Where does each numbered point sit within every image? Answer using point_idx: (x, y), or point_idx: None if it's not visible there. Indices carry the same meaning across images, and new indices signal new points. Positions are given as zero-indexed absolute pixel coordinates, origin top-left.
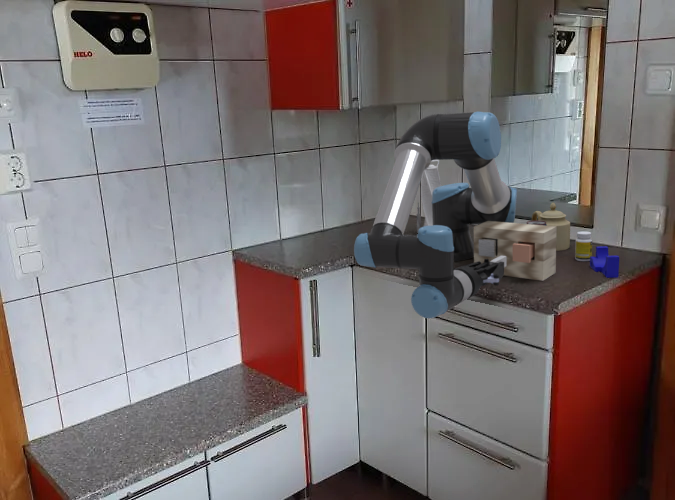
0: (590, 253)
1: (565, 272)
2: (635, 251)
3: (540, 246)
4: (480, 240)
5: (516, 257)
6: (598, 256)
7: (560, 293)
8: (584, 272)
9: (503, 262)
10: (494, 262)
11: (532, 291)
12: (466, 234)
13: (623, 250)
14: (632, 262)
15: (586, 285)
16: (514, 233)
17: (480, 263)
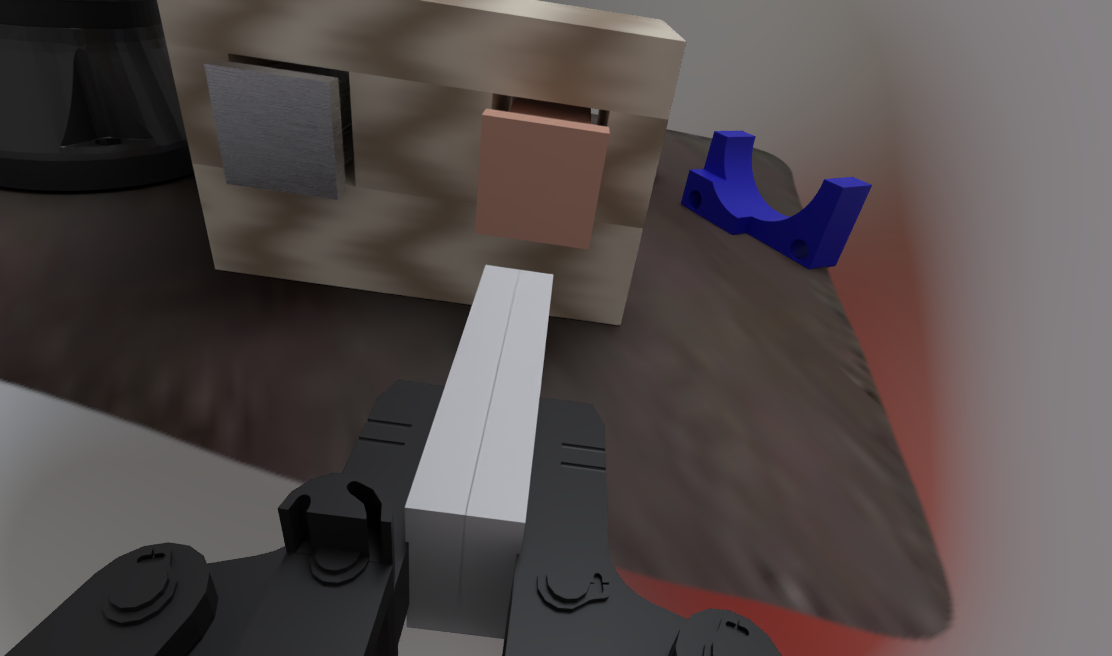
0: (660, 153)
1: (646, 246)
2: (711, 141)
3: (643, 136)
4: (220, 74)
5: (504, 211)
6: (726, 171)
7: (821, 462)
8: (705, 241)
9: (593, 421)
10: (510, 527)
11: (663, 473)
12: (152, 45)
13: (681, 137)
14: (763, 183)
15: (821, 340)
16: (473, 34)
17: (191, 629)
